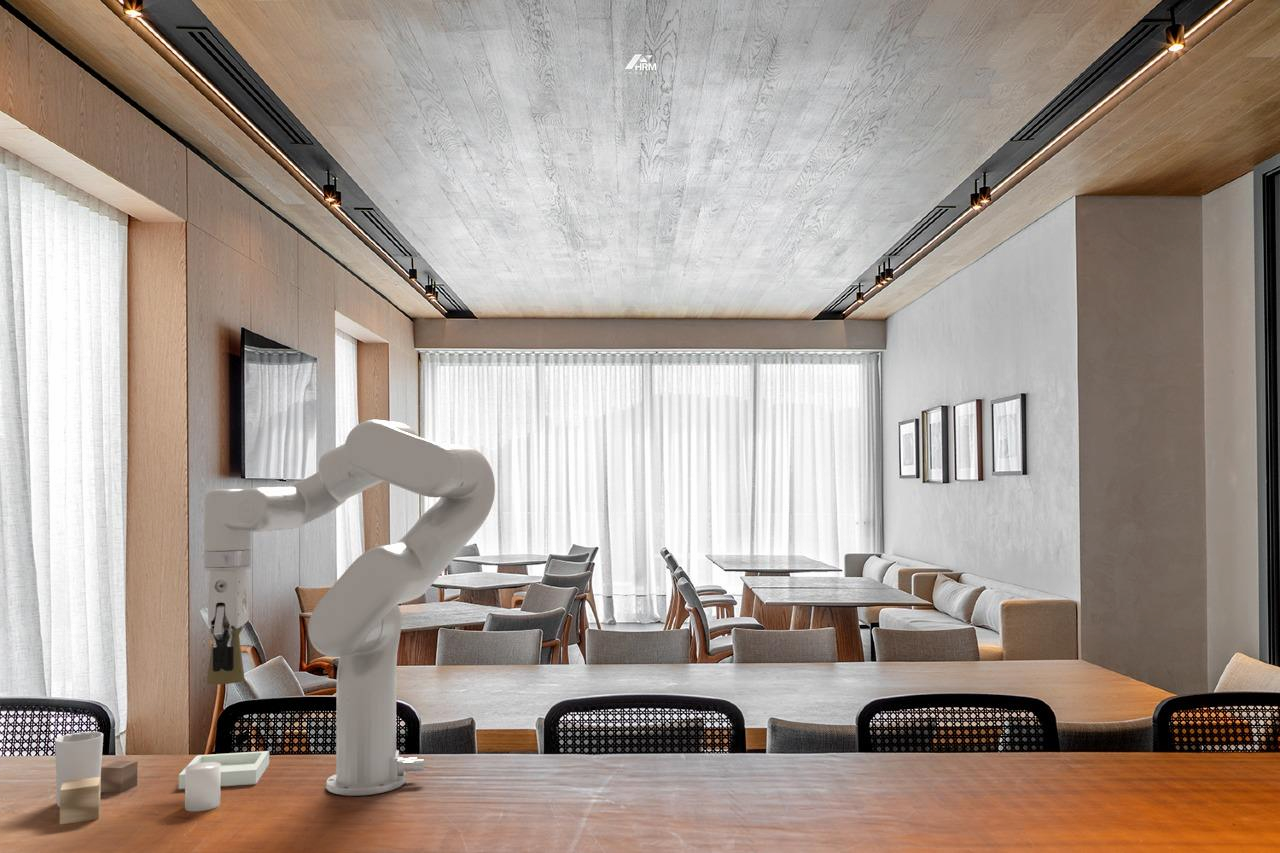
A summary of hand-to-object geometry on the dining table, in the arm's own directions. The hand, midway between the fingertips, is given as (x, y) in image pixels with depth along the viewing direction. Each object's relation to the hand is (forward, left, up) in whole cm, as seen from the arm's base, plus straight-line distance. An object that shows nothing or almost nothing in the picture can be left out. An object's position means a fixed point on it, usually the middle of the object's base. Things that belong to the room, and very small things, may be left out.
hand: (226, 667), depth 170 cm
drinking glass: (+20, +9, -18) cm, 29 cm away
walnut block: (+16, +3, -18) cm, 25 cm away
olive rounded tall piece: (0, 0, -2) cm, 3 cm away
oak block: (+17, +17, -18) cm, 30 cm away
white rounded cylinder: (0, +16, -18) cm, 24 cm away
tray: (0, 0, -18) cm, 18 cm away
